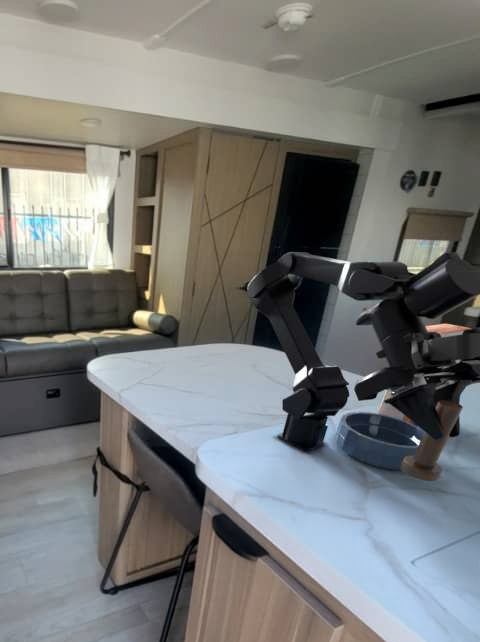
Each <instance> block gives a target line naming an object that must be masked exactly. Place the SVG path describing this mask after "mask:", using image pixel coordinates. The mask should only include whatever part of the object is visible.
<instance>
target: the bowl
mask: <svg viewBox="0 0 480 642" xmlns="http://www.w3.org/2000/svg"><path fill="white" fill-rule="evenodd" d="M424 433H425V431H424V430H423V429H421V428H420V427H419V426H418V425H417V424H415V423H413V424H412V423H410V422H407V421H404V420H401V419H398V418H395V417H391V416H387V415H383V414H378V412H370V411H352V412H348V413H347V412H346V413H344V414H343V415H342V416H341V418H340V419H339V423H338V426H337V429H336V432H335V436H334V441H335V444H336V445H337V446H338V447H339V449H341V450H342V451H343V452H344V453H345V454H347V455H348V456H350V457H351V458H353V459H354V460H355V459H356V460H357V461H360V462H362V463H364V464H367V465H371V466H373V467H378V468H382V469H387V470H392V471H393V470H394V471H402V470H401V467H400V466H401V464H402V461H403V459H404V457H406V456H414V455H415V453H416V451H417V448H418V446H419V444H420V442H421V440H422V437H423V435H424Z"/></svg>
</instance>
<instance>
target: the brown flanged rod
mask: <svg viewBox="0 0 480 642" xmlns="http://www.w3.org/2000/svg"><path fill="white" fill-rule="evenodd" d="M463 409H464V406H463V405H462V404H460V403H459V404H458V403H455V402H451V401H445V400H441V401H439V402H438V404H437V406H436V411H437V414H438V417H439V420H440V423H441V426H442V429H443V434H444V438H441V439H437V440H435V439H433V438H432V437H431V436H430V435H429V434H427V433H426V432H425V433H424V435H423V437H422V440H421V442H420V444H419V446H418V448H417V451H416V453H415V455H414V456H406V457H404V459H403V461H402V464H401V466H400V467H401V470H400V471H402V472H403V473H404V474H406V475H408V476H409V477H411V478H414V479H417V480H420V481H424V482H437V481H438V480H439V479H440V477H441V475H442V474H443V468H442V465H440V464H438V460H439V458H440V456H441V455H442V453H443V450H444V449H445V448H444V447H445V445H446V443H447V441H448V440H449V438H450V437H449V435H450V433H451V431H452V429H453V427H454V425H455V423H456V421H457V419H458V417H459V418H460V414H461V413H462V410H463Z"/></svg>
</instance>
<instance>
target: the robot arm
mask: <svg viewBox="0 0 480 642" xmlns="http://www.w3.org/2000/svg"><path fill="white" fill-rule="evenodd" d="M408 268H409V267H408V265H407V264H406V263H404V262H401V261H347V260H343V259H336V258H331V257H326V256H320V255H316V254H315V255H314V254H311V253H309V252H305V251H304V252H302V251H301V252H300V251H289V252H287V253H284V254H283V255H282V256H281V257H280V258H279V259H278V260H277V261H276V262H274V263H272V264H270V265H269V266H267V267H264V268H263V269H261V270H260V271H259V272H258V273H257V274H256V275H254V277H253V278H252V279H251V280H250V282H249V283H248V285H247V286H246V287H247V288H246V293H247V297H248V300H249V302H250V303H251V304H252V306H253V308H254V309H255V310H257V311H258V312H259V313H261V314H263V315H264V316H265V317H267V318H268V320H269V323H270V324H271V326H272V328H273V330H274V332H275V335H276V337H277V339H278V341H279V343H280V345H281V348H282V349H283V352H284V354H285V355H286V358H287V360H288V362H289V364H290V366H291V369H292V371H293V372H294V380H293V383H292V384H293V385H292V391H293V393H292V394H290V395H288V396H286V397H284V398H282V401H281V403H282V411H283V412H285V413H286V414H287V415H286V418H285V423H284V426H283V430H282V433H279V434H277V439H279V440H281V441H284V442H286V443H288V444H290V445H292V446H294V447H296V448H298V449H300V450H302V451H304V452H309V451H310V450H313V449H315V448H317V447H320V446H322V445H324V444H325V437H326V434H327V431H328V428H329V426H328V424H327V422H328V420H329V417H335V416H336V415H337V414H338V413H339V411H340V410H342V409H343V408H344V407H346V405H347V403H348V399H349V397H350V391H349V388H348V386H349V385H350V383H349V382H348V381H347V380H346V379H345V376H344V375H343V372H342V369H341V368H340V367H339V366H338V365H333V366H331V365H330V366H327V365H326V364H325V363H323V362H322V360H321V358H320V356H319V354H318V352H317V350H316V348H315V347H314V344H313V343H312V340H311V339H310V337H309V335H308V333H307V331H306V329H305V327H304V325H303V323H302V320H301V319H300V317H299V316H298V313H297V312H296V309H295V308H294V300H295V297H296V292H295V291H296V290H297V289H298V288H299V287H300V286H301V285H302V281H303V278H304V279H309V280H313V281H317V282H320V283H324V284H327V285H331V286H334V287H337V288H338V290H339V292H341V293H342V294H343V295H345V296H347V297H348V298H351V299H353V300H355V301H359V302H368V301H369V302H370V301H372V302H373V301H380V302H378V303H377V304H376V305H374V306H372V307H363V308H362V309H361V313H360V314H359V316H358V317H357V319H356V321H355V325H356V326H371V327H372V329H373V331H374V334H375V336H376V339H377V341H378V343H379V346H380V348H381V349H379V350H378V351H376V352H375V354H376V356H377V357H376V358H377V359H385V360H386V362H387V365H388V366H385V367H382V368H379V369H377V370H375V371H374V372H371V373H370V374H367V375H366V376H364V377H362V378H360V379H357V380H356V382H355V385H354V388H353V390H354V394H355V397H356V398H357V401H358V402H361V401H370V400H371V401H372V400H374V399H376V398H377V396H378V394H379V393H381V392H383V391H387V390H388V389H391V391H392V392H390V394H391V396H392V397H390V398H388V399H385V400H384V402H385V403H386V404H387V403H388V404H390V405H392V406H393V407H394V408H396V409H397V410H399V411H400V412H401V413H403V414H404V415H405V416H407V417H408V418H409V419H410V420H412V421H413V422H414V423H413V424H414V425H416V426H418V427H420V428H421V429H423V430H424V431H425V432H426V433H427V434H429V435H430V436H431V437H432V438H433V439H435V440H437V439H441V438H444V434H443V429H442V426H441V423H440V420H439V417H438V414H437V411H436V406H437V404H438V402H439V401H441V400H445V401H451V402H455V403H458V404H460V401H461V400H460V399H461V395H462V393H463V392H464V390H465V389H466V388H467V387H469V386H471V385H473V384H475V383H478V382H480V360H479V359H480V327H475V328H471V329H466V330H464V332H463V334H462V335H455V336H449V337H441V335H440V334H439V333H437V332H428V331H427V329H426V327H425V326H426V325H425V323H424V319H423V318H426V319H429V320H436V319H438V318H441V317H442V316H444V315H446V314H447V313H449V312H451V311H453V310H454V309H456V308H459V307H460V306H462V305H464V304H466V303H468V302H469V301H471V300H473V299H474V298H476V297H478V296H480V271H479V270H477V269H476V267H475V266H473V265H472V264H470V263H469V262H468V261H466V260H464V259H462V258H461V257H460V255H459V253H458V252H444V253H442V254H441V255H440V256H438V257H437V258H435V259H434V260H433V261H432V262H431V263H430V264H428V265H427V266H425V268H423V269H421V270H420V271H418V272H417V273H413V272H411V271H409V269H408ZM476 358H478V359H476ZM472 359H476V360H472ZM455 360H460V362H459V363H456V361H455ZM461 360H462V361H461ZM453 364H454V365H453ZM451 365H452V366H451ZM445 367H447V368H445ZM442 368H445V369H442ZM427 378H428V379H427ZM460 421H461V420H460V416H459V417H458V419H457V421H456V423H455V425H454V427H453V429H452V431H451V433H450V435H449V437H448V438H456V437H459V436H460V435H461V422H460Z"/></svg>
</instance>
